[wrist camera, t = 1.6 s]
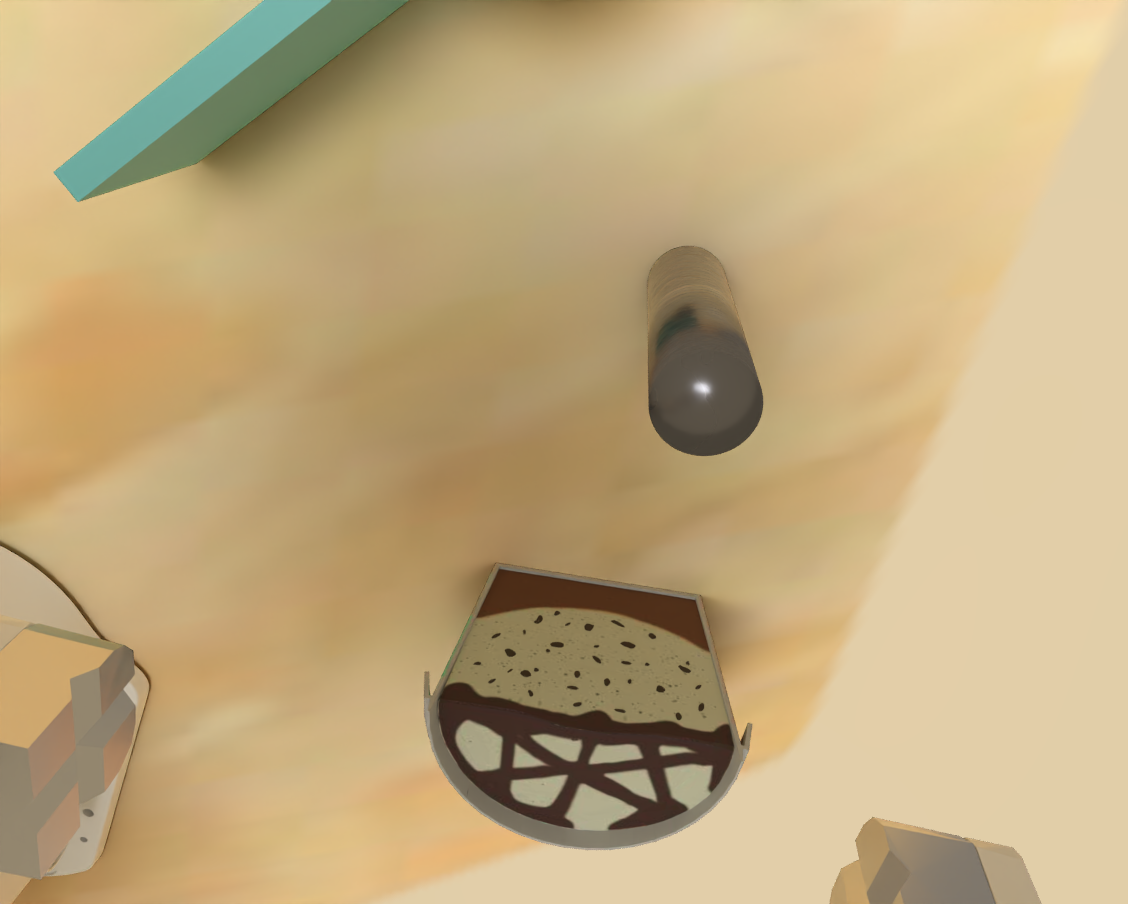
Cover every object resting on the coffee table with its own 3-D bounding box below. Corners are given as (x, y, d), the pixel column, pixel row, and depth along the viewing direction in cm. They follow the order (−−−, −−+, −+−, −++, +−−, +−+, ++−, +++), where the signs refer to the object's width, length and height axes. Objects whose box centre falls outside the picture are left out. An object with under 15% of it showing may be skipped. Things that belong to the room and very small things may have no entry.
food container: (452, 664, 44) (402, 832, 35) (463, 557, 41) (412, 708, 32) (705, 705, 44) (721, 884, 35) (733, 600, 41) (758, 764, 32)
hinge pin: (713, 330, 36) (743, 466, 25) (639, 313, 35) (636, 442, 25) (735, 256, 34) (778, 365, 23) (658, 237, 34) (665, 339, 23)
